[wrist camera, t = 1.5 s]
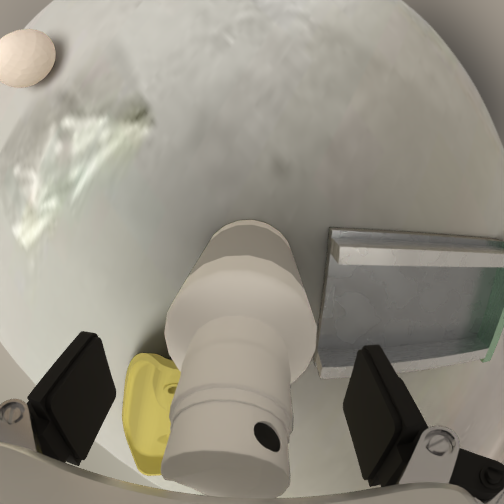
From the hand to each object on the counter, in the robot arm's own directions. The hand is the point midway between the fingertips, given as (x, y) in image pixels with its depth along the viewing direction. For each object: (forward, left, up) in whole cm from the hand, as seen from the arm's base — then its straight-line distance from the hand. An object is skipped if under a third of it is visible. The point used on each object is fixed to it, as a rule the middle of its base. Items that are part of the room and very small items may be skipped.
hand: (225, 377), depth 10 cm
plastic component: (-15, +5, -14) cm, 22 cm away
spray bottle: (0, 0, -14) cm, 14 cm away
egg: (+18, +19, -14) cm, 29 cm away
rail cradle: (-3, -15, -14) cm, 21 cm away
